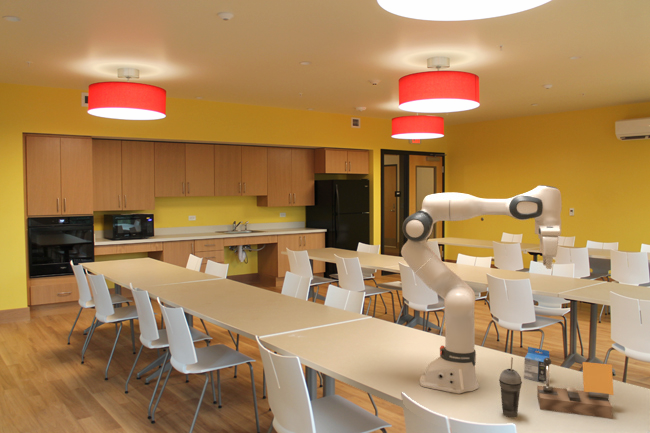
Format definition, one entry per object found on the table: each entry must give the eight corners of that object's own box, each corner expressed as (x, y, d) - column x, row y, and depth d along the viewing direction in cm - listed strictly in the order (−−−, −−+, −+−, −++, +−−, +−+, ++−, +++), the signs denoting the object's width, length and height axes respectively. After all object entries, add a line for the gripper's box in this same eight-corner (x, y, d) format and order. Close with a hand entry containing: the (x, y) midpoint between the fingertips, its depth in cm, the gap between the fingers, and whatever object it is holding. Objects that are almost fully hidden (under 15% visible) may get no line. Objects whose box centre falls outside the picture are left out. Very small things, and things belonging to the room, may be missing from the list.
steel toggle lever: (543, 391, 174) (543, 357, 178) (543, 391, 177) (542, 357, 180) (553, 392, 173) (552, 357, 177) (552, 392, 176) (551, 358, 179)
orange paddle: (584, 395, 170) (583, 361, 174) (583, 395, 172) (582, 362, 176) (614, 399, 168) (611, 364, 171) (612, 399, 169) (610, 364, 173)
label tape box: (523, 378, 200) (523, 348, 200) (527, 375, 203) (527, 346, 203) (545, 383, 194) (546, 353, 194) (549, 381, 197) (550, 350, 197)
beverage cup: (516, 410, 170) (516, 352, 170) (525, 419, 163) (526, 359, 162) (495, 410, 170) (495, 353, 169) (503, 419, 163) (504, 360, 162)
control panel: (540, 409, 171) (540, 394, 171) (537, 396, 182) (537, 382, 182) (612, 418, 164) (612, 403, 163) (604, 404, 175) (604, 389, 175)
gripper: (535, 228, 192) (535, 263, 192) (541, 230, 172) (540, 270, 173) (553, 228, 190) (553, 264, 190) (561, 231, 170) (560, 271, 171)
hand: (547, 267), depth 181 cm, fingers open, 8 cm apart
